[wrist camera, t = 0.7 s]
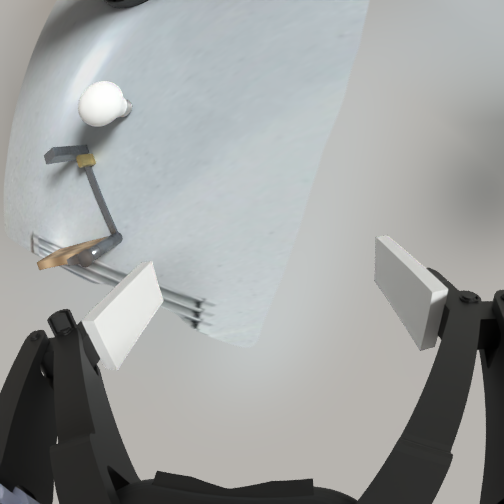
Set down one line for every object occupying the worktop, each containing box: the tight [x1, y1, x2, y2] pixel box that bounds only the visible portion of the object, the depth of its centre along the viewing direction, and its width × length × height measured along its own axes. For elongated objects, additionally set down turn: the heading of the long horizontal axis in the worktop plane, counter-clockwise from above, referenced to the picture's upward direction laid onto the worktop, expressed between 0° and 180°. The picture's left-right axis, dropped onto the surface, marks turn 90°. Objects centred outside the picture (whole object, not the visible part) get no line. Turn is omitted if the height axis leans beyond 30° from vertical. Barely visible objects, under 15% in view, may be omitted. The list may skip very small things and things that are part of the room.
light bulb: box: [78, 81, 132, 127], centre depth 31 cm, size 7×7×11 cm
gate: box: [37, 237, 107, 270], centre depth 40 cm, size 17×2×10 cm, turn 101°
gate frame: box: [44, 145, 122, 260], centre depth 37 cm, size 19×3×9 cm, turn 21°
